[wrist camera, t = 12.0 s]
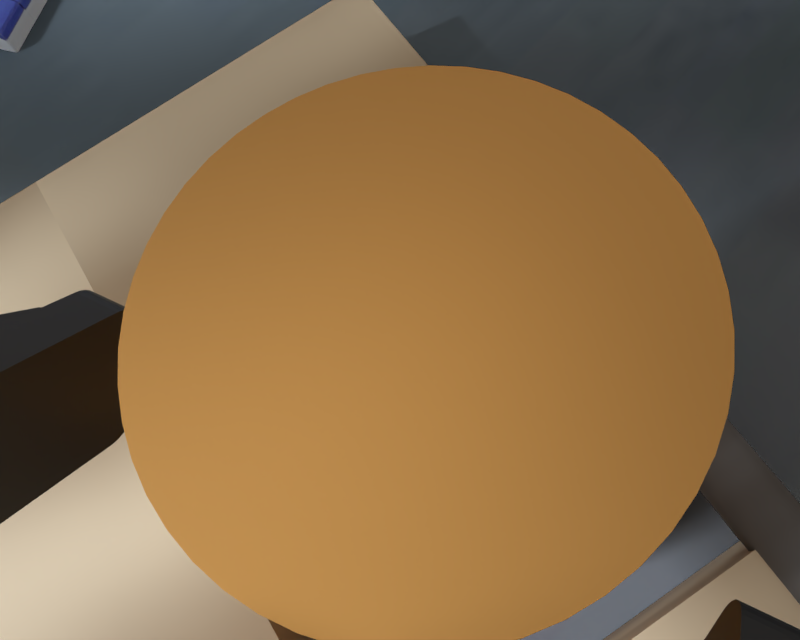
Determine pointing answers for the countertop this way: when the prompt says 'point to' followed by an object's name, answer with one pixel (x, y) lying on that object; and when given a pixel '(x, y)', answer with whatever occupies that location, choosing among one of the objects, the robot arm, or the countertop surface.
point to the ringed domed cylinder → (426, 358)
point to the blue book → (17, 21)
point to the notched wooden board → (113, 468)
